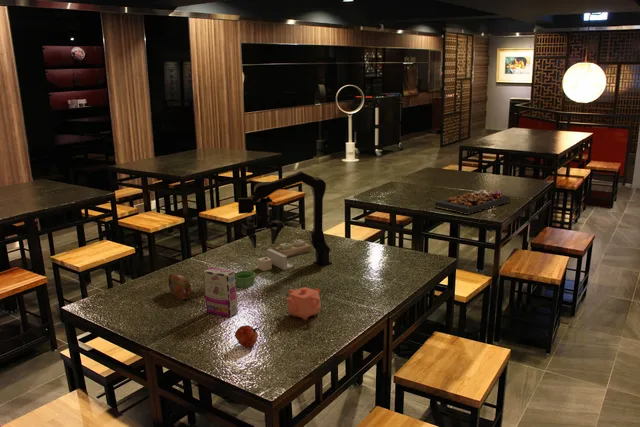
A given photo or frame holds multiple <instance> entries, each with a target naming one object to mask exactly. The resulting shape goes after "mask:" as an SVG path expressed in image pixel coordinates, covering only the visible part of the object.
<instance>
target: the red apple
mask: <svg viewBox="0 0 640 427" xmlns="http://www.w3.org/2000/svg"><path fill="white" fill-rule="evenodd" d="M259 329H260V328H258V327H255V328H253V326H251V325H247V324H245V325H241V326H240V327H238V329H236V331H235V333H234V338H235V339H236V341H237V343H236V344H234V345H233V346H234V347H236V345H238V344H239V345H241V346H242V347H243V348H244V349H250V348H252V347H253V346H255V345H256V343H257V340H258V337H259V335H258V332H257V330H259Z"/></svg>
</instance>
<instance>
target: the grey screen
mask: <svg viewBox="0 0 640 427" xmlns="http://www.w3.org/2000/svg"><path fill="white" fill-rule="evenodd" d="M266 254H267V255H266V257H267V258H269V259H271V262H272V265H273V266H275V267H277V268H279V269H281V270H283V271H284V270H289V269H293V268H294V266H293V264H290V263H289V262H288V257H287V256H285V255H283V254H281V253H279V252H277V251H275V250H274V248H268V249H266Z"/></svg>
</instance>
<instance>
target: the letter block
mask: <svg viewBox="0 0 640 427" xmlns="http://www.w3.org/2000/svg"><path fill="white" fill-rule="evenodd" d="M272 265H273V264H272V262H271V259H269V258H267V256H265V257H260V258H257V268H258V270H261V272H264V271H265V272H266V271H269V270H272V269H273V266H272Z"/></svg>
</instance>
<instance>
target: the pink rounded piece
mask: <svg viewBox="0 0 640 427" xmlns="http://www.w3.org/2000/svg"><path fill="white" fill-rule="evenodd" d="M321 291H322V290H321V289H320V288H318V287H316V288H315V289H312V288H310V287H305V286H304V287H300V288H297V289H296V290H295V289H292V288H291V289H289V290H288V294H289V295H288V297H286V300H287V311H288V313H289V315H290V314H291V315H292V317H297V318H301V319H302V320H303V321H308V319H309V317H311V316H317V315H318V312H319V311H320V310H321V307H322V306H321V303H322V302H321V297H320V294H321Z"/></svg>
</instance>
